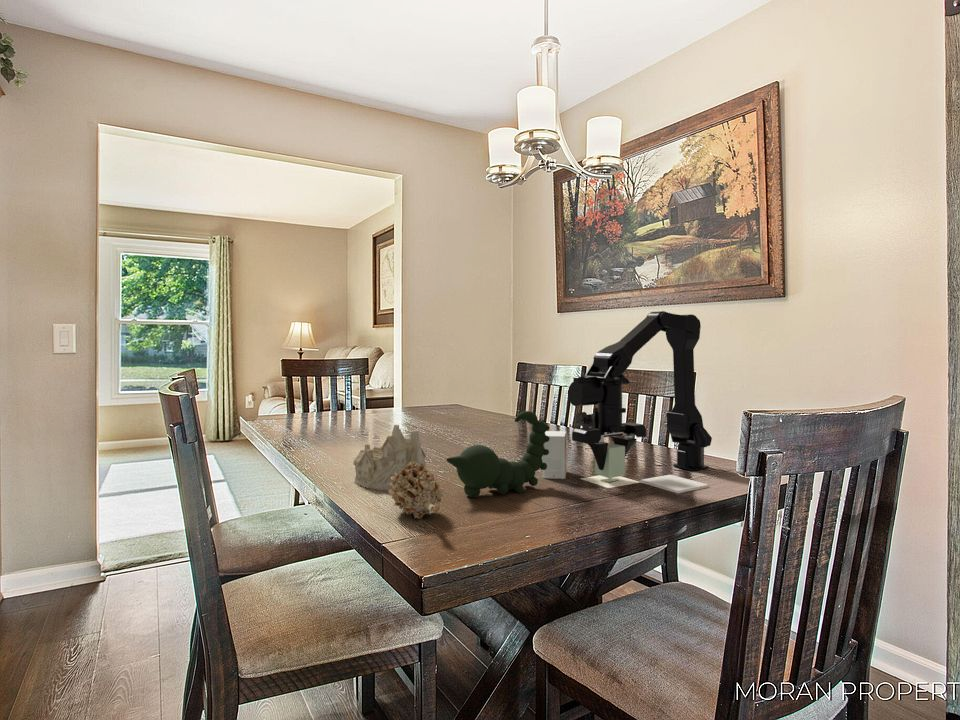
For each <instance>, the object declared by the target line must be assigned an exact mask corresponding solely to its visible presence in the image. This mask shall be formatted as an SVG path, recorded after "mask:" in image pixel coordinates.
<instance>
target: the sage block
mask: <svg viewBox="0 0 960 720" xmlns="http://www.w3.org/2000/svg"><path fill="white" fill-rule="evenodd" d="M607 443H608V447H607V454H606V460H605V465H604V469H603V470H599V468H598V465H597V462H596V459H595V458H594V475H596V476H598V475H600V476H603V477H607V478H613V477H619V476H622V477H624V476H626V457H625V446H622V445H618V444H615V443H614V442H607Z"/></svg>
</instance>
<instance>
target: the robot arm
mask: <svg viewBox="0 0 960 720" xmlns="http://www.w3.org/2000/svg"><path fill="white" fill-rule="evenodd" d="M701 327H702V326H701V321H700V319H699V318H698V317H697V316H696V315H695V314H676V313H671V312H667V311H664V310H661V311H659V310H658V311H651V312H649V313H648V314H647V315H646V316H645V318H644V319H643V320H642V321H640V322H639V323H638V324H637V325H635V326H634V327H633V328H632V330H630V331H629V332H628V333H627V334H626V335H624V336H623V337H622V338H621V339H620V340H619V341H617V342H615V343H613V344H610V345H608V346H605V347H604V348H602V349H600V350H598V351H597V352H596V353H595V354H594V355H593V360H592V363H591V364H590V365H589V368H588V369H587V371H586V373H585V374H584V376H577V375H575V376H574V377H572V378H573V379H572V380H573V382H571V383H570V385H569V387H568V389H567V398H568V400H569V403H570V404H571V405H572V406H574V407H581V406H582V407H584V406H593V410H592V413H590V414H587V412H585V411H580V412H577V413H576V414H575V415H576V417H575V422H576V425H577V426H578V427H577V428H573V431H571V440H572V441H574V442H578V443H581V444H586V445H588V446H589V448H590V449H591V451H592V454H593V456H594V460H595V459H596V462H597V465H598V468H599V470H603V469H604V465H605V460H606V454H607V447H608V443H609V442H606V441H605V438H609V437H610V438H611V439H612V441H613V443H614V444H618V445H622V446H625V458H626V456H628V452H629V451H630V450H631V448H632V447H633V444H634V443H635V442H637V438H643V437H647V427H646V426H645V424H641V423H636V422H631V421H630V422H623V414H624V413H625V414H626V412H627V408H625V407H623V385H628V384H630V380H629V379H628V378H626V376H625V375H624V374H625V372H626V371H627V369H628V368H629V367H630V366H631V364H632V361H633V358H634V356H635V354H637V353H638V351H640V350H641V349H642V348H643V347H644V346H645V345H647V343H648V342H650V341H651V340H652V339H653V338H654V337H655V336H656V335H657V334H658V333H660V332H665V336H666V337H665V338H666V341H667V342H668V344H669V346H670V348H671V349H672V362H673V388H674V394H673V395H674V405H673V407H672V409H671V411H667V412H666V426H665V428H668V433H669V434H670V438H671V442H672V443H677V451H676V455H677V456H676V459H677V460H676V463H673V465H672V466H673V467H675V468H679V469H684V470H687V471H691V472H693V471H700V470H706V469H709V468H710V466H709V465H706V464H705V448H707V447H710V446H711V445H712V440H713V437H712V436H711V434H709V432H708V431H707V429H705V427H704V422H703V416H702V414H701V412H700V411H699V409H698V407H697V406H696V394H695V393H696V387H695V358H694V357H695V355H694V353H695V351H694V350H695V347H696V346H697V344H698V342H699V340H700V338H701V337H700V336H701ZM633 435H635V437H636V438H635V437H634V438H633Z"/></svg>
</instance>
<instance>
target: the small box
mask: <svg viewBox="0 0 960 720" xmlns="http://www.w3.org/2000/svg"><path fill="white" fill-rule="evenodd" d="M567 433H568V432H567V431H564V430H563V431H562V430H561V431H560V430H558V431H557V430H548V431H546V432H545V434H546V436H548V437H549V438H550V439H549V441H548V442H545V444H544V448H545V449H548V450H549V454H548V455H543V456H542V463H546V464H547V468H546V470H542V479H551V480H553V479H555V480H556V479H557V480H566V476H567V471H568V470H567V445H568V444H567V443H568V442H567Z"/></svg>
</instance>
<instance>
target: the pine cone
mask: <svg viewBox="0 0 960 720" xmlns="http://www.w3.org/2000/svg"><path fill="white" fill-rule="evenodd" d="M435 475H436V474H435V473H434V472H431V470H430V469H429V468H428V467H427V466H426V467H425V466H424V464H423V463H421V465H420V466H419V464H418V463H417V464H416V462H412V461H411V462H409V463H408V465H407V467H406V466H405V465H404V468H403V469H402V470H401V472H399V473H396V472H395V477H391V481H392V483H390V485H391V486H392V488H391V489H390V490H387V492H388V493H389V494H390V496H391V497H390V498H391V499H392V500H393V501H394V506H396V507H399V509H400V510H402V512H403V513H405V514H406V515H407V516H408V515H412V514H413V517H414V519H418V520H419V519H420V520H421V519H422V518H423V517H424V516H425V515H426V514H428V515H430V516H431V515H432V514H437V513H438V512H439V511H440V508H441V507H440V506H441V504H440V503H441V502H442V499H441V498H443V496H444V495H443V494H442V493H440V492H439V491H440V489H441V486H440V485H439V484H440V480H438V481H437V479H436V478H435V477H436V476H435Z"/></svg>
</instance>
